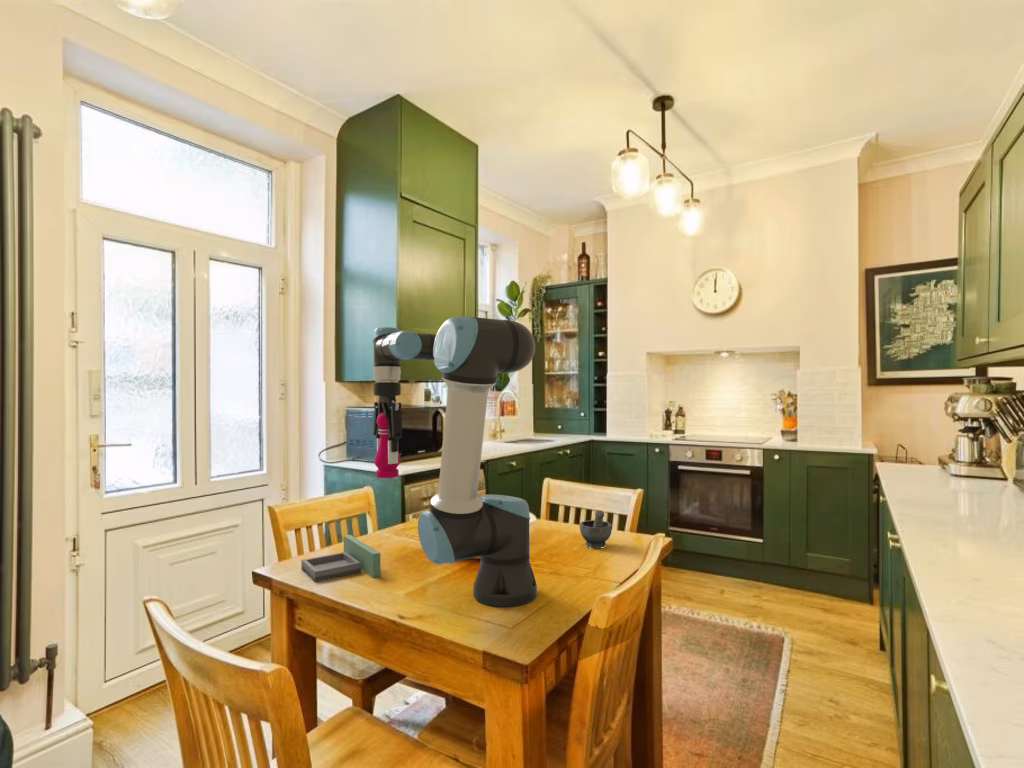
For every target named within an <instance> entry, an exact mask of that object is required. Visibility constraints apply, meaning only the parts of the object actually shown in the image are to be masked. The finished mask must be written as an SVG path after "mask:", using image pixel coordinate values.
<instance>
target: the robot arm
mask: <svg viewBox="0 0 1024 768" xmlns="http://www.w3.org/2000/svg"><path fill="white" fill-rule="evenodd" d="M372 342H373V381H375V382H374V384H373V395H374V396H375V397H377V396H379V397H378V401H374V404H373V407H374V408H373V409H374V415H373V433H372V434H373V436H375V438H376V452H377V451H378V448H379V445H380V434H378V433H379V431H378V430H379V429H380V428H379V426H378V425H377V417H378V415H379V414H381V413H383V412H384V416H385V417H386V418H387V426H388V432H389V438H388V439H387V440H388V464H395V463H398V453H399V440H400V439H402V438H403V426H402V403H401V402H397V398H396V397H397V396H400V395H401V392H402V391H401V389H402V388H401V385H402V384H401V383H400V382H399V381H401V374H402V372H403V371H401V360H402V361H403V360H404V361H405V360H407V361H408V360H409V361H410V360H411V361H433V363H434V365H435V367H436V369H437V370H438V371H440V372H441V379H442V380H443V382H444V383H445V384H446V385H447V394H446V395H447V397H446V406H445V417H444V427H443V436H442V438H443V439H442V449H441V459H440V469H439V479H438V490H437V491H438V492H436V493H435V494H434V495H433V496H432V497H430V500H429V501H430V502H429V510H424V511H422V512H421V513H420V514H419V516H418V518H417V534H418V539H419V542H420V546H421V549H422V550H423V553H424V555H425V557H427V559H428V560H429V561H430V562H431V563H433V564H435V565H445V564H454V563H455V562H460V561H464V560H469V559H474V558H478V557H479V558H480V562H479V567H478V569H477V572H476V575H475V576H476V577H475V581H474V582H473V587H472V589H473V591H472V593H473V595H472V596H473V598H474V599H475V600H476V601H477V602H479V603H481V604H484V605H487V606H493V607H516V606H521V605H525V604H528V603H530V602H532V601H534V600H535V599H536V597H538V596H537V595H538V584H537V581H536V577H535V574H534V571H533V568H532V565H531V561H530V520H531V516H530V506H529V503H528V501H527V500H525V499H523V498H520V497H518V496H516V497H515V496H511V495H505V494H484V495H481V496H480V497H479V496H478V492H479V491H478V489H479V481H480V471H481V462H482V461H481V460H482V452H483V443H484V434H485V424H486V416H487V415H486V414H487V408H488V407H487V406H488V405H487V404H488V397H489V391H490V390H491V389H492V388H493V387H494V386H495V385H496V384H497V377H498V374H510V373H517V372H519V371H520V370H523V369H524V368H526V367H527V366H528V365H530V363H531V361H532V360H533V358H534V356H535V353H536V341H535V337H534V336H533V334H532V332H531V330H529V328H528V327H526V326H525V325H524V324H522V323H520V322H518V321H515V320H510V319H498V318H497V319H496V318H488V317H478V316H477V317H476V316H470V315H469V316H452V317H449V318H447V319H446V320H445V321H444V322H443V323H442V325H440V327H439V329H438V330H437V333H423V332H422V333H421V332H414V331H412V330H400V329H399V328H397V327H391V326H389V327H388V326H384V327H376V328H375V329H374V331H373V340H372Z"/></svg>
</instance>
